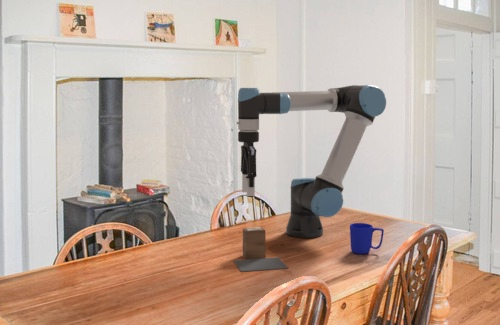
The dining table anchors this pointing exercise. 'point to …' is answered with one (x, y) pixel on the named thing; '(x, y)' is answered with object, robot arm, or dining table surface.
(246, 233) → the walnut block
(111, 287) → the dining table surface
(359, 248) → the mug
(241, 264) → the mat
